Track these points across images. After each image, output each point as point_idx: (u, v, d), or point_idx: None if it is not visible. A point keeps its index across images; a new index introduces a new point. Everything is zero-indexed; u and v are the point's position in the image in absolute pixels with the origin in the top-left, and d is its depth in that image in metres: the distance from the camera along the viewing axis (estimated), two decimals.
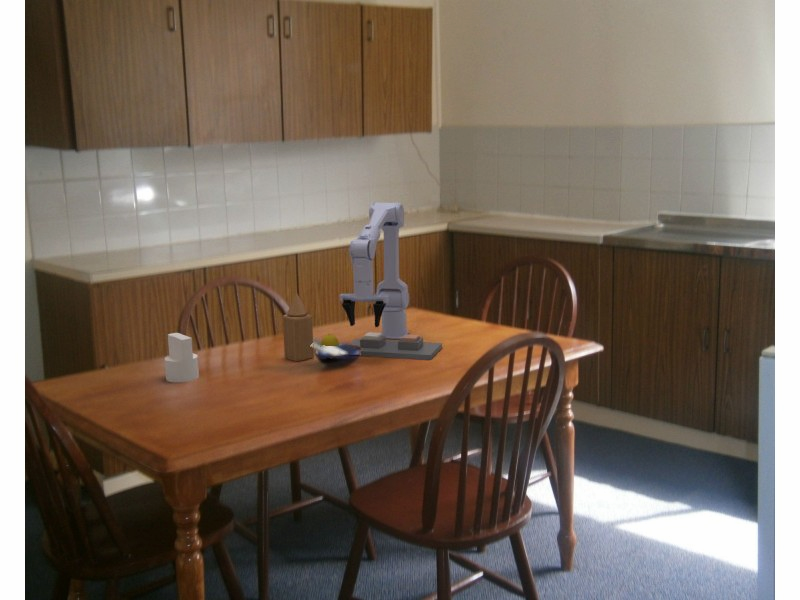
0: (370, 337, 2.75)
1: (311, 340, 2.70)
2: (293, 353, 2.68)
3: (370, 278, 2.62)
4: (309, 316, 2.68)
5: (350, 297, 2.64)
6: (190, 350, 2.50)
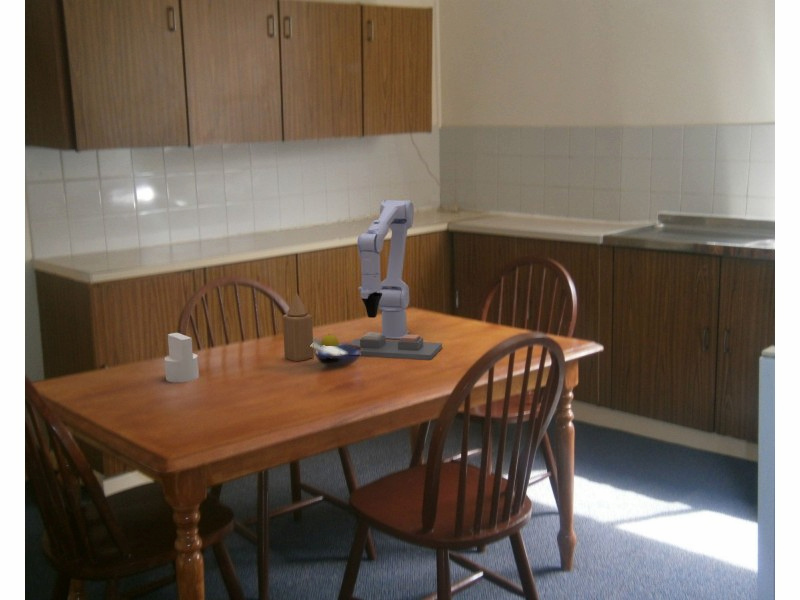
0: (370, 337, 2.75)
1: (311, 340, 2.70)
2: (293, 353, 2.68)
3: (377, 271, 2.71)
4: (309, 316, 2.68)
5: None
6: (190, 350, 2.50)
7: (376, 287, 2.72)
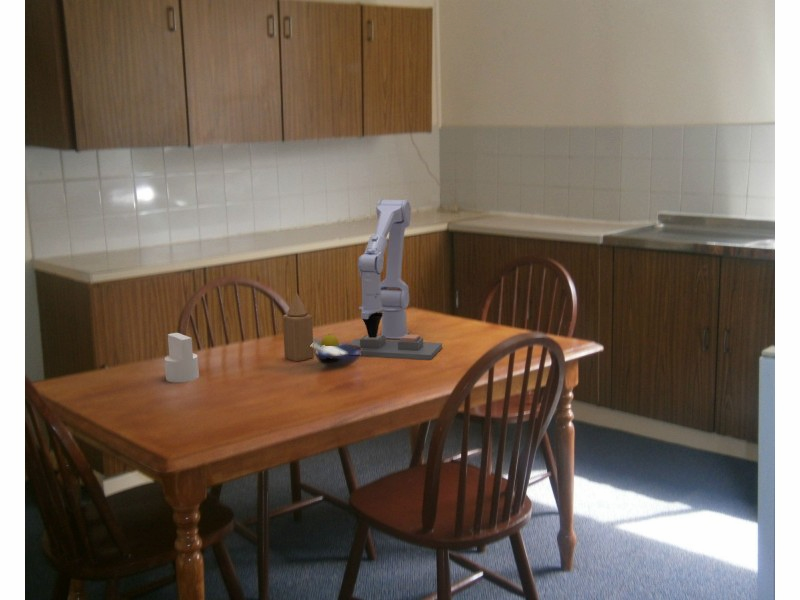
0: None
1: (311, 340, 2.70)
2: (293, 353, 2.68)
3: (378, 291, 2.73)
4: (309, 316, 2.68)
5: None
6: (190, 350, 2.50)
7: (377, 307, 2.73)
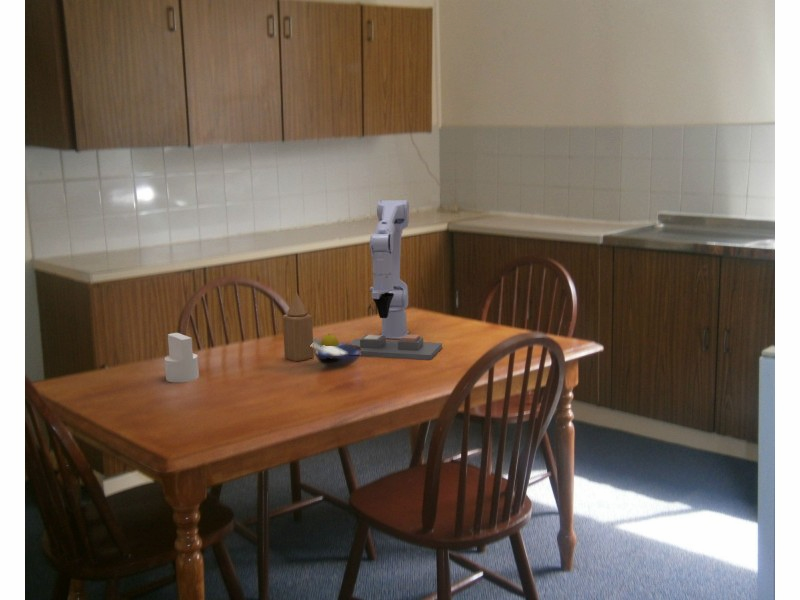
0: None
1: (311, 340, 2.70)
2: (293, 353, 2.68)
3: (390, 271, 2.71)
4: (309, 316, 2.68)
5: None
6: (190, 350, 2.50)
7: (388, 287, 2.71)
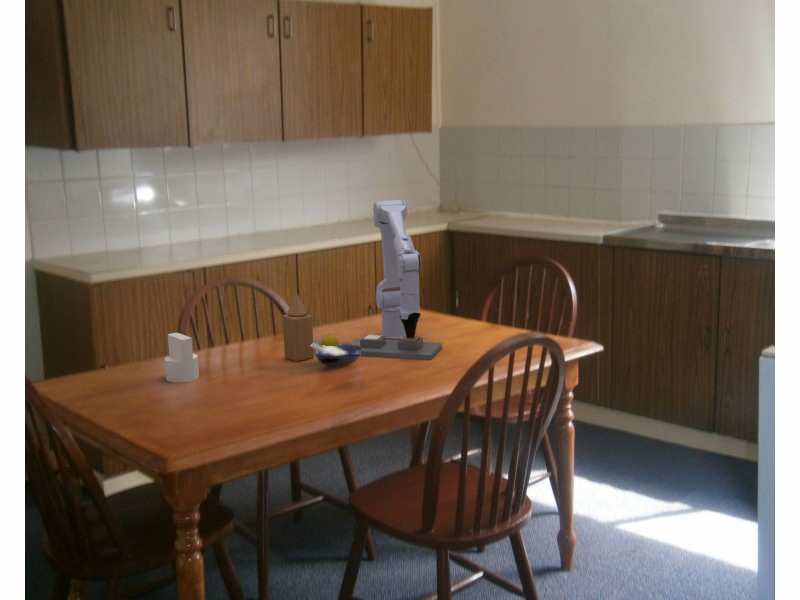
0: None
1: (311, 340, 2.70)
2: (293, 353, 2.68)
3: (418, 290, 2.71)
4: (309, 316, 2.68)
5: None
6: (190, 350, 2.50)
7: (415, 307, 2.70)
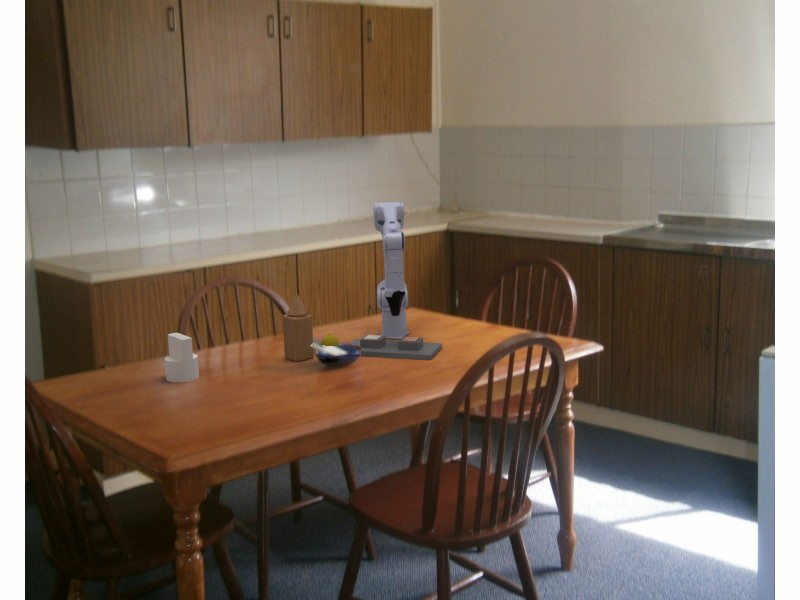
0: None
1: (311, 340, 2.70)
2: (293, 353, 2.68)
3: (403, 269, 2.74)
4: (309, 316, 2.68)
5: None
6: (190, 350, 2.50)
7: (400, 285, 2.74)
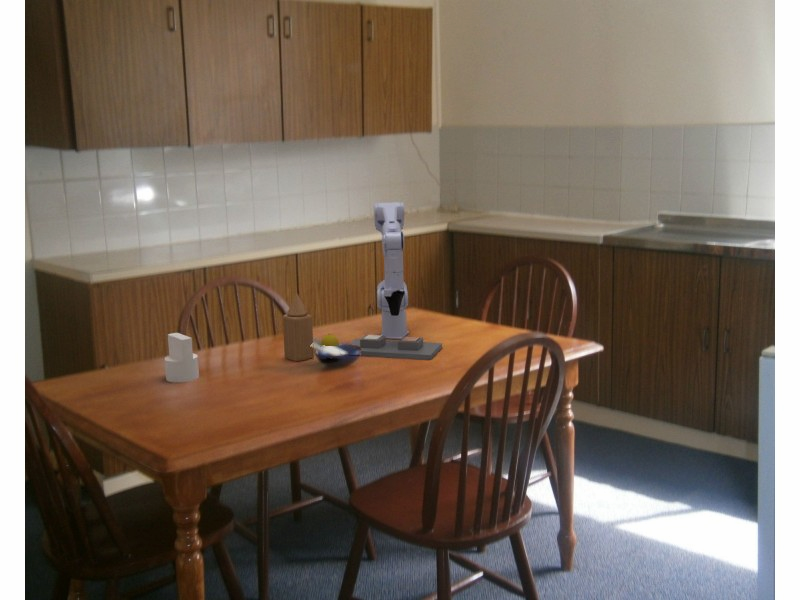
0: None
1: (311, 340, 2.70)
2: (293, 353, 2.68)
3: (402, 269, 2.74)
4: (309, 316, 2.68)
5: None
6: (190, 350, 2.50)
7: (399, 285, 2.74)
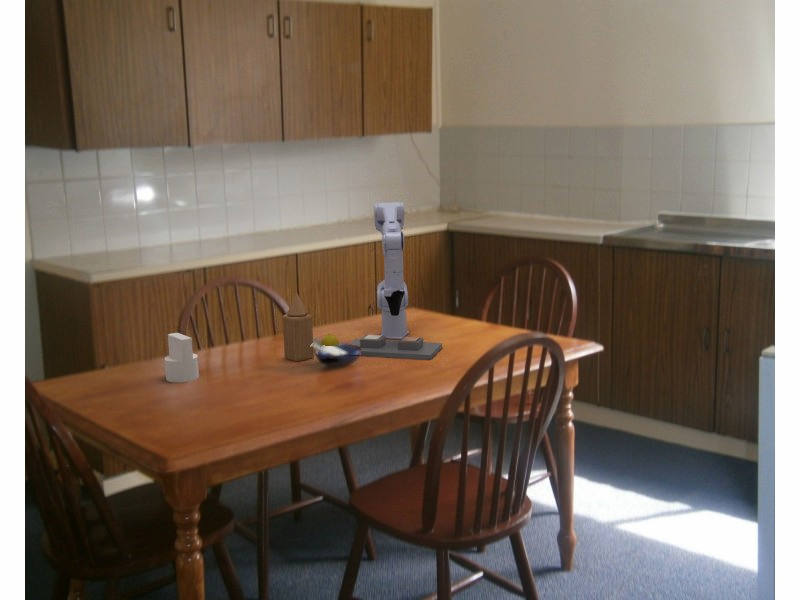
0: None
1: (311, 340, 2.70)
2: (293, 353, 2.68)
3: (402, 269, 2.74)
4: (309, 316, 2.68)
5: None
6: (190, 350, 2.50)
7: (399, 285, 2.74)
